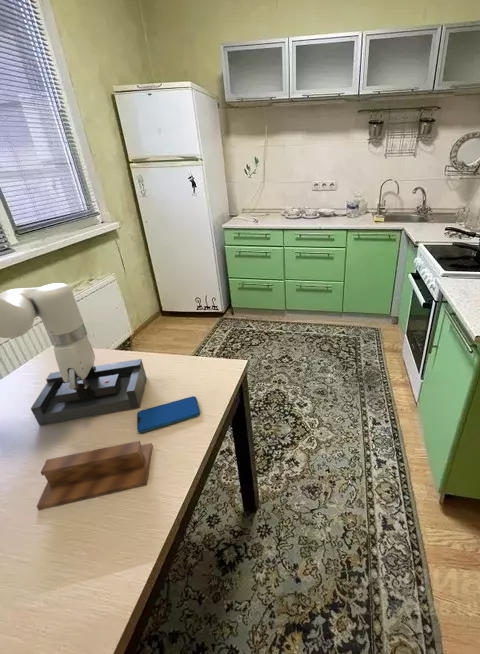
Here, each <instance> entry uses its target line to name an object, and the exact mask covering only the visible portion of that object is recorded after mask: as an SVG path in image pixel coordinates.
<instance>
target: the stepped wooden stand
mask: <svg viewBox="0 0 480 654" xmlns="http://www.w3.org/2000/svg"><path fill="white" fill-rule="evenodd" d="M152 453H153V443H152V442H149V443H145V444H142V443H141V440H136V441H131V442H126V443H122V444H117V445H111V446H107V447H102V448H97V449H92V450H87V451H83V452H78V453H73V454H68V455H63V456H58V457H53V458H48V459H46V460H45V461H44V463H43V466H42V468H41V471H40V474H41V476H44V477H45V480H46V481H47V482H46V484H45V487H44V489H43V491H42V493H41V496H40V498H39V500H38V502H37V505H36V508H37V510H38V511H39V510H43V509H48V508H52V507H56V506H60V505H65V504H69V503H75V502H78V501H82V500H86V499H90V498H95V497H100V496H104V495H109V494H113V493H117V492H122V491H126V490H130V489H133V488H139V487H142V486H147V485H148V479H149V472H150V465H151V460H152Z"/></svg>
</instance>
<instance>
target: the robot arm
mask: <svg viewBox="0 0 480 654" xmlns="http://www.w3.org/2000/svg"><path fill="white" fill-rule="evenodd" d="M36 318H40V319H41V322H42V325H43V326H44V329H45V332H46V333H47V336H48V338H49V341H50V343H51V345H52V346H53V352H54V356H55V361H56V365H57V367H58V370H59V372H60V373H61V376H62V378H63V381H64V382H69V388H70V389H75V390H76V391H77V394H78V396H79V398H80V400H81V401H84V400H89V399H93V398H94V394H93V392H92V389H91V387H90V385H89V386H88V383H87V379H92V378H98V375H97V372H94V371H96V367H95V366H96V365H95V364H94V363H95V360H96V356H95V355H96V354H95V351H94V349H93V346H92V343H91V341H90V339H89V338H88V331H87V328H86V326H85V323H84V321H83V318H82V315H81V312H80V309H79V306H78V303H77V301H76V298H75V295H74V293H73V290H72V287H71V286H70V285H68V284H67V283H63V282H57V283H49V284H45V285H42V286H36V287H22V288H21V287H20V288H11V289H7V290H5V291H2V292H0V339H1V338H2V339H16V338H19V337H22V336H24V335H26V333H28V332H29V331H30V330H31V329H32V327H33V326H34V322H35V319H36ZM77 376H79V377H77ZM78 380H82V381H83V384H82V383H78V382H77V381H78Z"/></svg>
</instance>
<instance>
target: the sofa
mask: <svg viewBox="0 0 480 654" xmlns="http://www.w3.org/2000/svg"><path fill="white" fill-rule="evenodd" d="M94 366H95V367H96V371H94V372H97V375H98V377H104V376H110V375H116V374H119V376H120V379H121V383H120V386H119V389H118V392H117V393H114V394H108V395H103V396H97V397H94V398H93V399H89V400H84V401H81V400H74V401H69V402H63V403H58V401H57V399H56V396H55V395H56V394H57V392H58V390H59V389H60V387H61V385H62V383H67V382H64V381H63V378H62V376H61V373H60V371H55V372H50V373H49V374H48V376H47V377H46V378H45V381H46V383H45V385H44V387H43V389H42V390H41V392H40V393H39V395H38V396H37V398H36V400H35V401H34V402H33V404H32V405H31V407H30V410H31V412H32V414H33V416H34V418H35V420H36V422H37V424H38V426H39V427H43V426H48V425H52V424H53V425H54V424H58V423H64V422H69V421H75V420H76V421H77V420H80V419H81V420H82V419H85V418H91V417H97V416H101V415H103V416H104V415H106V414H113V413H119V412H125V411H130V410H135V409H140V408H141V403H142V399H143V395H144V390H145V386H146V383H147V375H146V371H145V367H144V363H143V359H142V358H138V359H137V358H136V359H132V360H125V361H119V362H113V363H106V364H99V365H94ZM77 377H79V376H77ZM78 381H80V380H78Z"/></svg>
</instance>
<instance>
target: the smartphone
mask: <svg viewBox="0 0 480 654" xmlns="http://www.w3.org/2000/svg"><path fill="white" fill-rule="evenodd" d="M199 415H201V410H200V406H199V404H198V398H197V397H196V396H195V395H193V396H189V397H185V398H181V399H178V400H175V401H170V402H167V403H162V404H160V405H156V406H153V407H149V408H145V409H141V410H139V411H138V412H136V427H137V432H138V433H140V434H141V433H144V432H148V431H152V430H155V429H158V428H162V427H166V426H169V425H172V424H175V423H178V422H182V421H186V420H189V419H192V418H196V417H198V416H199Z"/></svg>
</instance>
